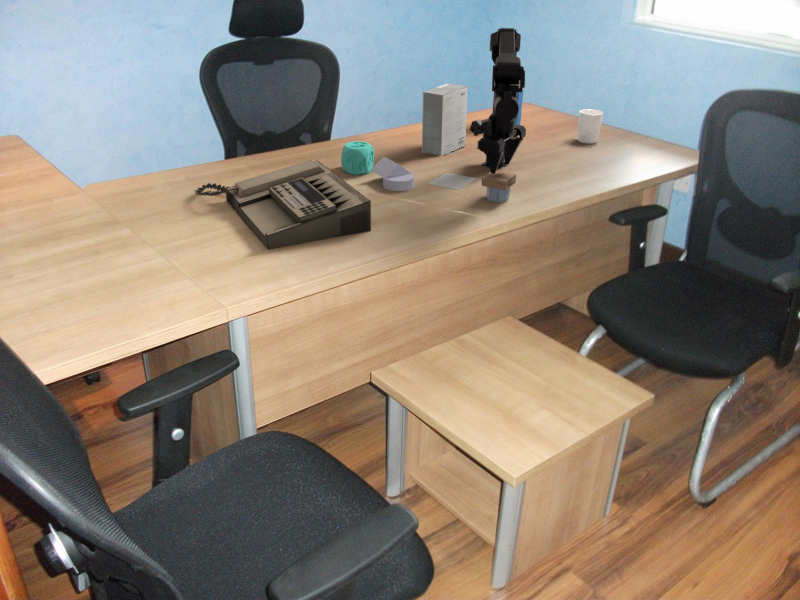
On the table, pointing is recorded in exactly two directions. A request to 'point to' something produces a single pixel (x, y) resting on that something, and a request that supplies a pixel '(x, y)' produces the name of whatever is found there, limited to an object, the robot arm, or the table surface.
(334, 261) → the table surface
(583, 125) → the white cup
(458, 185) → the mat
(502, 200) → the grey ring collar
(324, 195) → the fax machine
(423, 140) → the hard drive box
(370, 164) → the decorative dice
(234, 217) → the table surface
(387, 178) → the wedge on round base
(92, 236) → the table surface
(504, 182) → the block
